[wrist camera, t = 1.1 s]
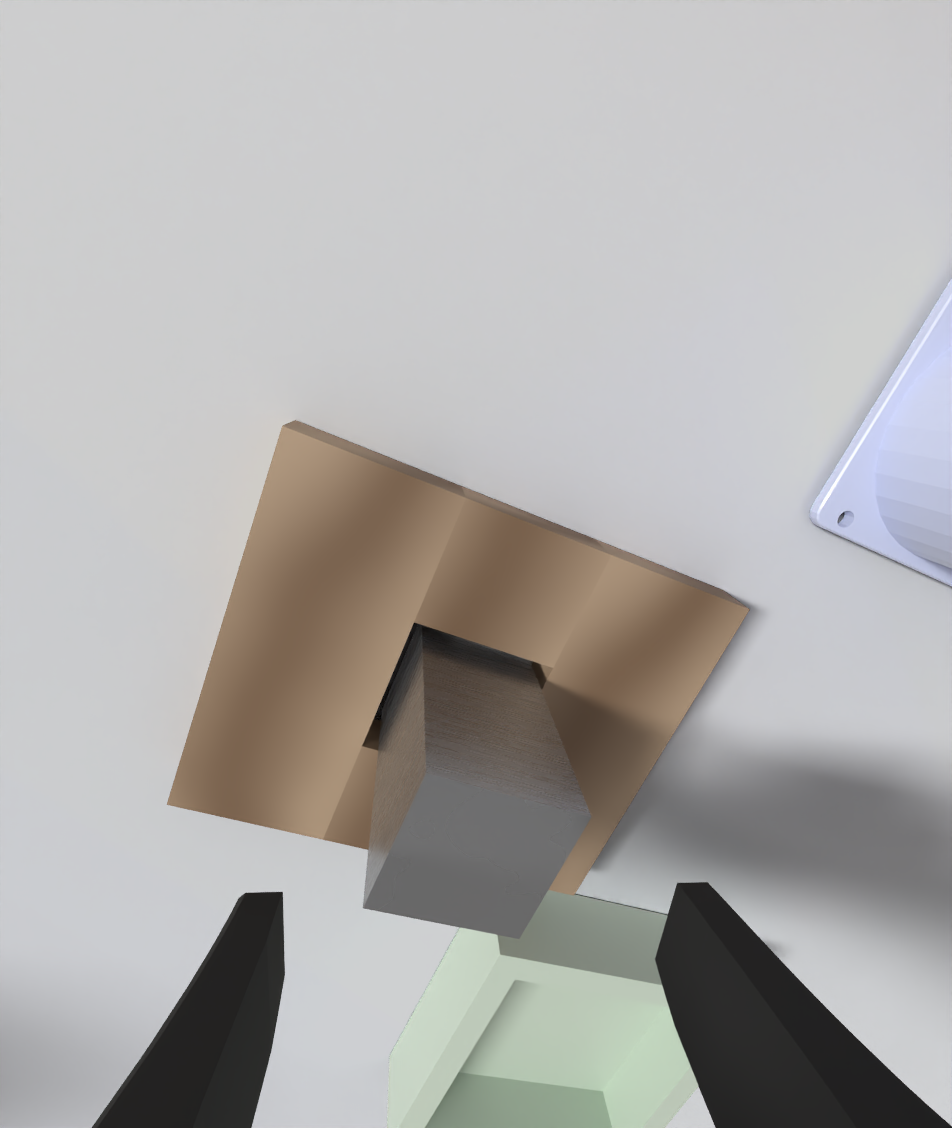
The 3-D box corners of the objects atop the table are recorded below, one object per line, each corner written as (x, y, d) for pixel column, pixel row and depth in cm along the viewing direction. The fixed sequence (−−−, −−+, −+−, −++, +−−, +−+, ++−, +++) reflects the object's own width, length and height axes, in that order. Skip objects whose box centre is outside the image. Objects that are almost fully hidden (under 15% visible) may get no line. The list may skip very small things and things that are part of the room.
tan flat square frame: (723, 590, 18) (749, 609, 16) (563, 860, 21) (573, 895, 19) (295, 420, 14) (282, 425, 13) (186, 769, 18) (166, 804, 16)
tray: (722, 927, 23) (764, 1004, 20) (605, 1085, 26) (628, 1171, 23) (488, 874, 21) (500, 954, 18) (389, 1055, 24) (386, 1148, 21)
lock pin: (525, 649, 18) (591, 816, 11) (482, 737, 19) (519, 939, 12) (421, 615, 17) (426, 773, 10) (382, 709, 18) (362, 907, 11)
